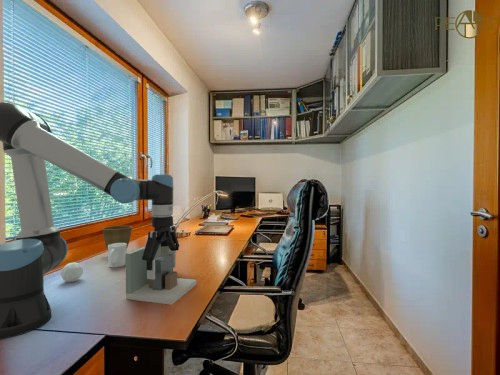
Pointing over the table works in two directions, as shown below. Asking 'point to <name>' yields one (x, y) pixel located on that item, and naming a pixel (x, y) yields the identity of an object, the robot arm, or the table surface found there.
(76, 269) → the ball
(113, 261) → the mug
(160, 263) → the grey rectangular box
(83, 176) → the robot arm
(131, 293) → the l-shaped bookend
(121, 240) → the plant pot
